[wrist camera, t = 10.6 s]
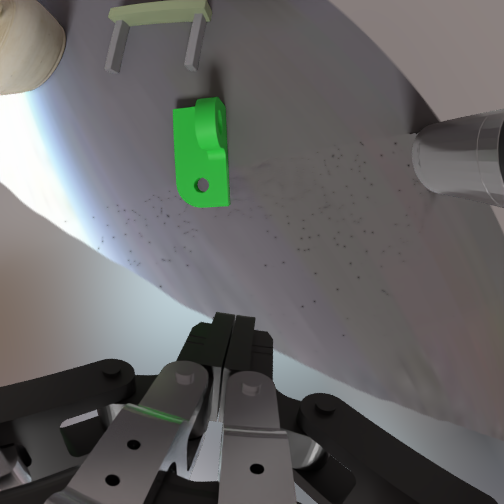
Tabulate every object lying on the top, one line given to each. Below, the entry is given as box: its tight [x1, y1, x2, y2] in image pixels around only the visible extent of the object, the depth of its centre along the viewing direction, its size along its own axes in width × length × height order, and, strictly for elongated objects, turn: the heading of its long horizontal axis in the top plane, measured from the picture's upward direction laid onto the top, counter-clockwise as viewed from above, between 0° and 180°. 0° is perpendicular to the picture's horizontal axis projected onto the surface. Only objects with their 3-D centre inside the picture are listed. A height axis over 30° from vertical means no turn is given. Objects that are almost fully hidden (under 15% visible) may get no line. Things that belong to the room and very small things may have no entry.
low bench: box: [104, 0, 212, 74], centre depth 31 cm, size 13×9×4 cm
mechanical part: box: [173, 97, 230, 207], centre depth 33 cm, size 12×6×8 cm, turn 3°
